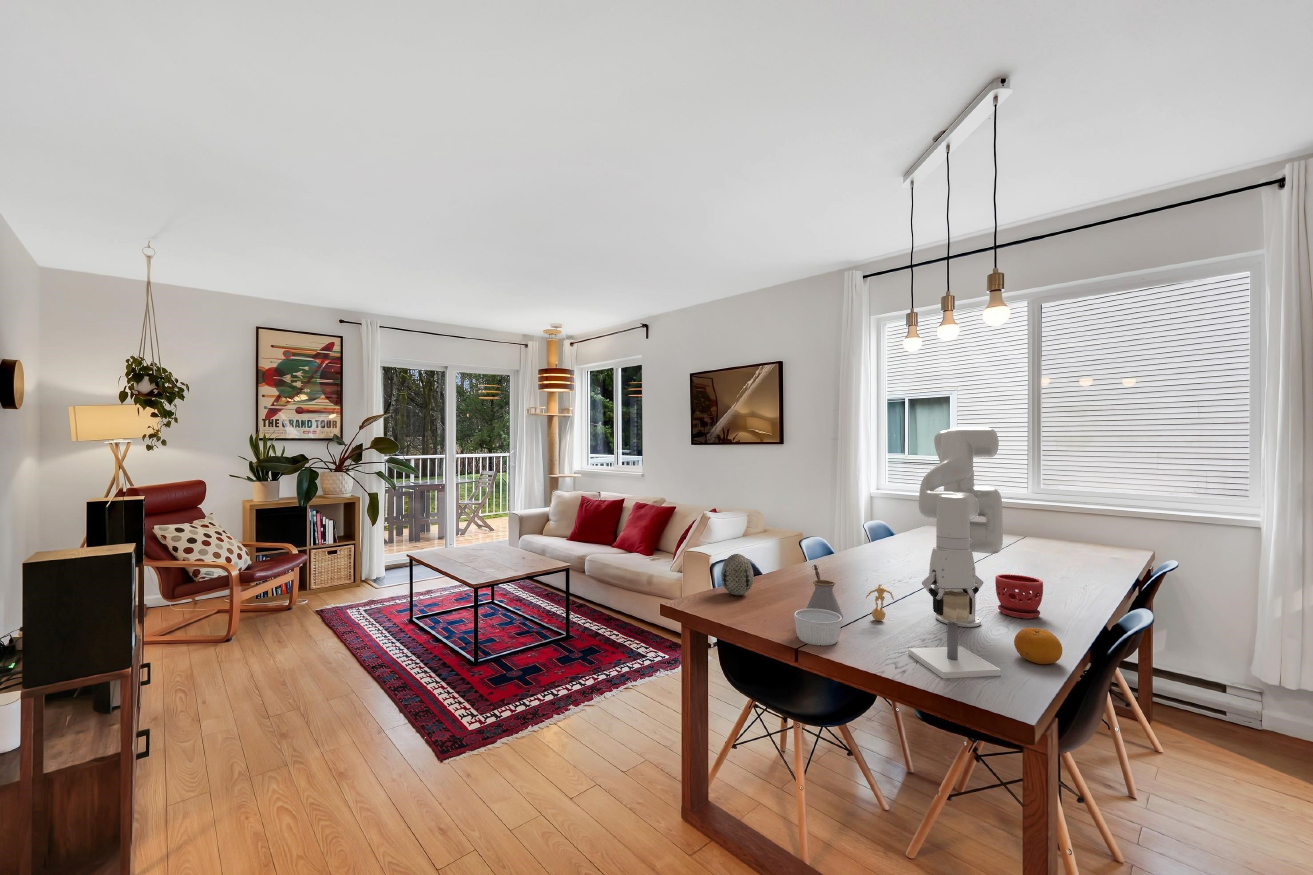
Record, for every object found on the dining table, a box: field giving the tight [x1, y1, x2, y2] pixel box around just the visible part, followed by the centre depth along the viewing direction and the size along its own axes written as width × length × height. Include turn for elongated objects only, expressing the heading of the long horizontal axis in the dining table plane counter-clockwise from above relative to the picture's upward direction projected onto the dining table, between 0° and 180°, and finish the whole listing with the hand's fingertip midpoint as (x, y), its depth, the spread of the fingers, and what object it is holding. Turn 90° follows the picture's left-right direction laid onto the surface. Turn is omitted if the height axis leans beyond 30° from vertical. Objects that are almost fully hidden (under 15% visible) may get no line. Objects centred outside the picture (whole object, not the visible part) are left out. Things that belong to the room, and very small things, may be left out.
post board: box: [907, 622, 1002, 679], centre depth 143 cm, size 15×15×10 cm
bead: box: [935, 589, 969, 621], centre depth 142 cm, size 7×7×6 cm
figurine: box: [865, 583, 895, 622], centre depth 175 cm, size 8×6×12 cm
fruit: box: [1013, 627, 1063, 665], centre depth 145 cm, size 10×10×8 cm
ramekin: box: [793, 608, 843, 647], centre depth 160 cm, size 13×13×7 cm
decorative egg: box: [720, 553, 754, 596], centre depth 205 cm, size 12×12×15 cm
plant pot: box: [994, 573, 1044, 620], centre depth 183 cm, size 13×13×12 cm
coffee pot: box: [805, 564, 844, 620], centre depth 178 cm, size 21×12×15 cm, turn 174°
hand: (952, 612), depth 142 cm, fingers closed on bead, 7 cm apart
